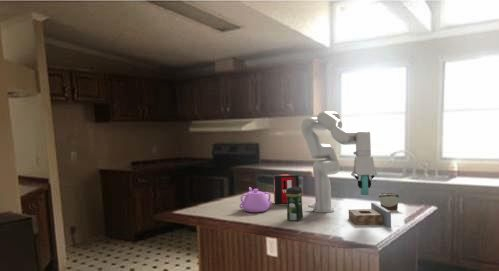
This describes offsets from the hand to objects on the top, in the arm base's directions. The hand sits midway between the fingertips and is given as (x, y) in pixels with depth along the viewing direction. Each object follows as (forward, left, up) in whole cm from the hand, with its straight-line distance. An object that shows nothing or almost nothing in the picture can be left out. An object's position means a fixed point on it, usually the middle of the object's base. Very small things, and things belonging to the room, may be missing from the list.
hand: (364, 187), depth 186 cm
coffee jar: (-37, +9, -19) cm, 43 cm away
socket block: (0, 0, -18) cm, 18 cm away
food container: (+23, +29, -19) cm, 42 cm away
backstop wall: (+8, 0, -19) cm, 20 cm away
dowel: (0, 0, -4) cm, 4 cm away
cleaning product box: (-38, +54, -19) cm, 69 cm away
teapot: (-60, +36, -19) cm, 73 cm away
